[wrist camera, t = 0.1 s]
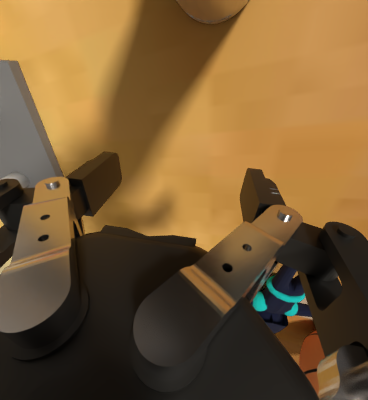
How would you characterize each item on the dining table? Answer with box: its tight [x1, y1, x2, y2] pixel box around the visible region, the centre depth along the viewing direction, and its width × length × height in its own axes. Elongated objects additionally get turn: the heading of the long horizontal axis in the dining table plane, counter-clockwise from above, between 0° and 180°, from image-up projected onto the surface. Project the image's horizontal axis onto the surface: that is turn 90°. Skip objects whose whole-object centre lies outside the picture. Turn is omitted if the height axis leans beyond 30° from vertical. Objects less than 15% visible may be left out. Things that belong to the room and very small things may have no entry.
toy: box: [251, 265, 312, 334], centre depth 42 cm, size 31×8×30 cm
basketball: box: [299, 330, 325, 395], centre depth 46 cm, size 24×24×24 cm
